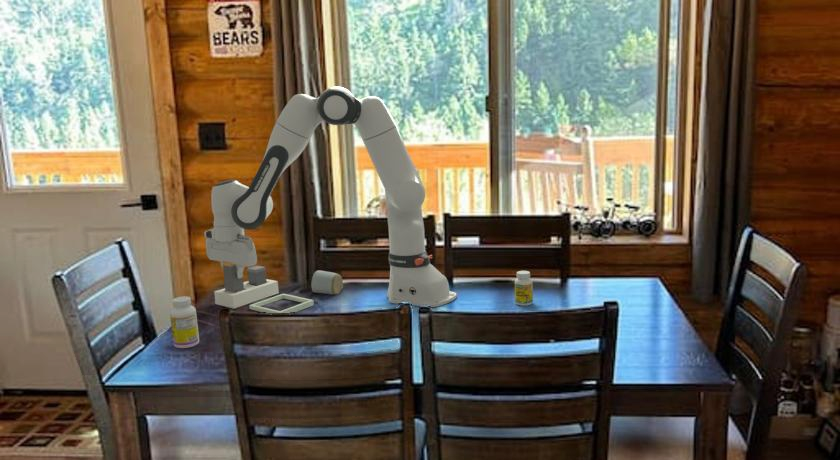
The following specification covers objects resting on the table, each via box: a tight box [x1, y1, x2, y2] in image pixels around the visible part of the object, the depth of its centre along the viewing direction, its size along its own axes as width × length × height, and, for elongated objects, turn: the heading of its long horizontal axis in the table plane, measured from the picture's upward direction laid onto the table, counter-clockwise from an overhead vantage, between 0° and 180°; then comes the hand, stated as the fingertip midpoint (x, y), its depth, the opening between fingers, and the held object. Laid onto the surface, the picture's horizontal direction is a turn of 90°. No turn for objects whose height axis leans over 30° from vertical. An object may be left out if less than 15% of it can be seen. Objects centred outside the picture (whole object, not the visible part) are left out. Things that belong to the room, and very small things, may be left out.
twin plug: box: [247, 265, 267, 286], centre depth 232 cm, size 4×4×9 cm
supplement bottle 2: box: [514, 270, 534, 307], centre depth 216 cm, size 5×5×10 cm
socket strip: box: [213, 278, 280, 309], centre depth 229 cm, size 9×18×5 cm, turn 143°
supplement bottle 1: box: [169, 296, 200, 349], centre depth 193 cm, size 7×7×13 cm
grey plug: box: [222, 262, 244, 292], centre depth 224 cm, size 4×4×9 cm
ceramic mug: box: [311, 270, 344, 296], centre depth 235 cm, size 11×8×8 cm
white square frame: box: [248, 293, 315, 314], centre depth 220 cm, size 14×14×2 cm
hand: (233, 276), depth 224 cm, fingers closed on grey plug, 4 cm apart
